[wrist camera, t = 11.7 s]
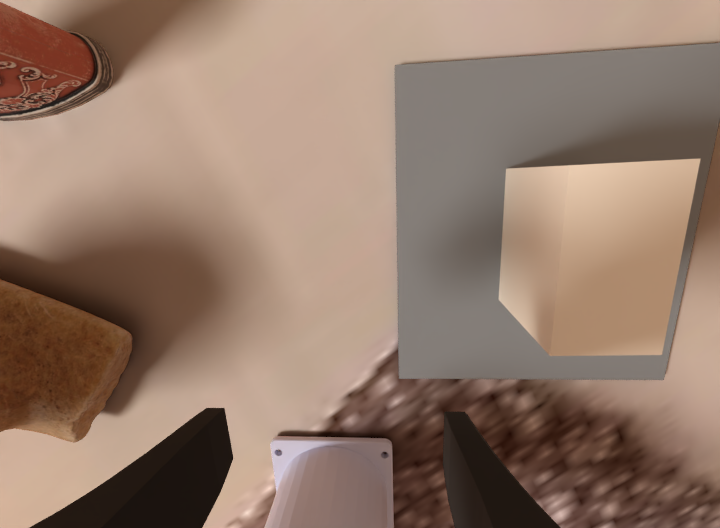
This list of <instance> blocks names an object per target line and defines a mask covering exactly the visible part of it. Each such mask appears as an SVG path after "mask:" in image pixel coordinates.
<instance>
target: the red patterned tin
mask: <svg viewBox="0 0 720 528" xmlns="http://www.w3.org/2000/svg"><path fill="white" fill-rule="evenodd" d="M112 80H113V68H112V64H111V60H110V58H109V56H108V54H107V52H106V51H105V49H104V48H103V47H102V46H101V45H100V44H99V43H98V42H96V41H94V40H93V39H91V38H89V37H87V36H84V35H82V34H80V33H78V32H74V31H64V30H61V29H59V28H57V27H55V26H52V25H50V24H48V23H46V22H43V21H41V20H39V19H37V18H35V17H32V16H30V15H28V14H26V13H23V12H21V11H19V10H17V9H15V8H12V7H10V6H8V5H6V4H3V3H1V2H0V120H2V121H16V120H33V119H38V118H43V117H48V116H53V115H58V114H60V113H63V112H65V111H68V110H71V109H73V108H76V107H78V106H81V105H83V104H85V103H87V102H88V101H90V100H92V99H93V98H95V97H97V96H99V95H100V94H102V93H104V92H105V91H106V90H107V89H108V88H109V87H110V85H111V82H112Z"/></svg>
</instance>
